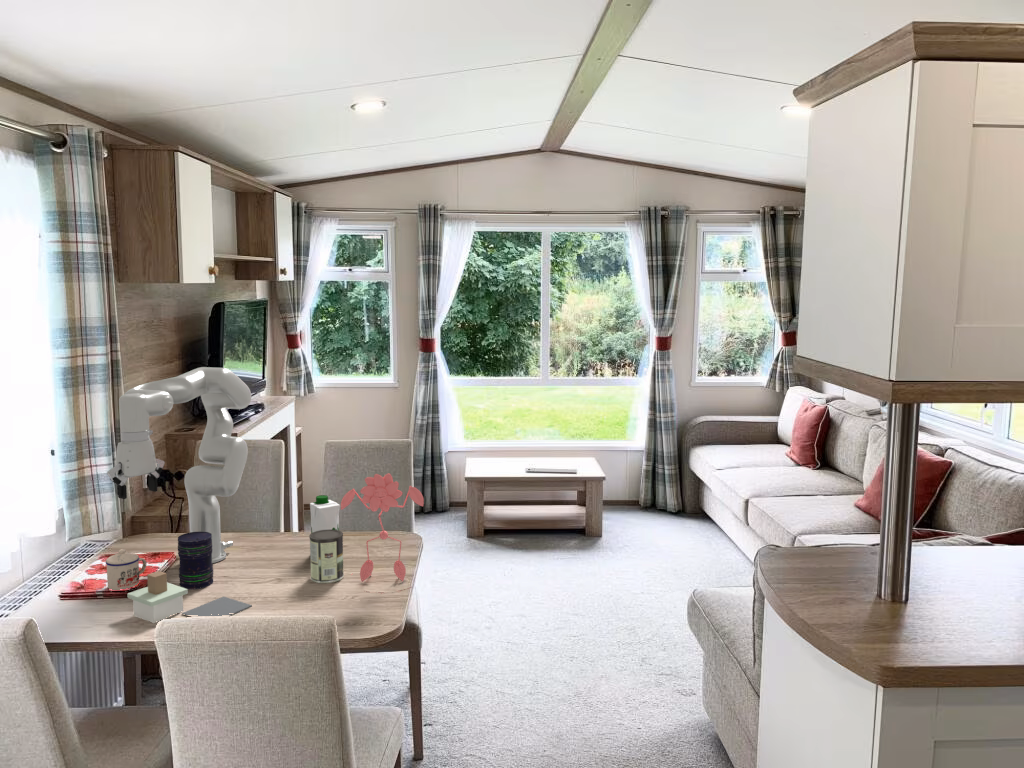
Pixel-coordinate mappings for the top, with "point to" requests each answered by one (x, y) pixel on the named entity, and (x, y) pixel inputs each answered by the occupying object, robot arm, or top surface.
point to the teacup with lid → (123, 570)
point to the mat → (219, 607)
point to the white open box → (158, 609)
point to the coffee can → (326, 556)
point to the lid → (157, 590)
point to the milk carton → (324, 514)
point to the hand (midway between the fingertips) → (138, 494)
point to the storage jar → (195, 560)
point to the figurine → (382, 496)
